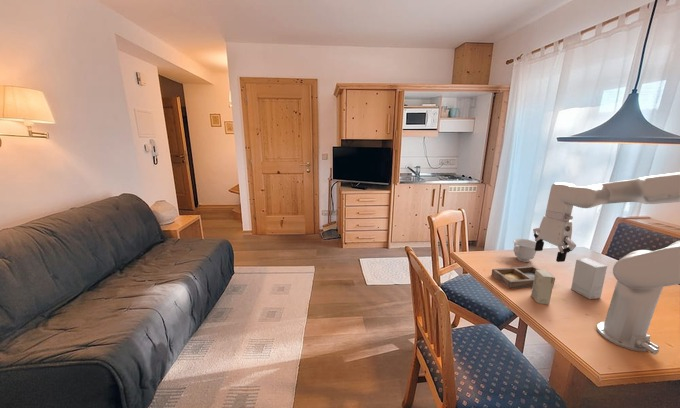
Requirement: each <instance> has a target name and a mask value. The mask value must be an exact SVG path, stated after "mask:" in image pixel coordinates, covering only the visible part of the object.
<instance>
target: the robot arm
mask: <svg viewBox="0 0 680 408" xmlns="http://www.w3.org/2000/svg"><path fill="white" fill-rule="evenodd" d="M548 195H549V196H548V200H547V205H546V209H545V214H544V216H543V217H542V219H541V222H540V224H539V227H538V228H537V227H536V228H533V229H532V231H533V236H534V238H535V239H534V242H536V245H535V251H536V252H542V251H543V248H544V244H545V242H547V243H549V244H552V245H554V246H556V247H557V248H558V250H559V251H558V252H557V254H556V262H557V263H564V262H566V261H565V260H566V259H567V254H568V253H570V252H572V251H574V250H575V248H576V247H577V244H576V243H575V242H574V241H573V240H572V233H573V222H572V220H573V219H574V216H572V214H573V213H572V212H573V208H574V207H578V208H581V209H591V208H595V207H597V206H600V205H608V204H619V203H620V204H621V203H640V204H645V205H661V204H671V203H680V171H679V172H672V173H670V172H669V173H665V174H663V173H662V174H657V175H649V176H642V177H638V178H633V179H626V180H618V181H613V182H612V181H611V182H604V183H597V184H596V183H595V184H590V185H587V186H585V185H584V186H577V185H576V184H574V183H570V182H554V183H552V185H551V187H550V191H549V194H548ZM612 275H613V276H614V278H615V279H616V280H617V281H616V283H615V286H614V290H613V292H612V296H611V300H610V304H609V307H608V310H607V313H606V317H605V320H604V321H601V322H599V323H597V325H596V331H597V332H598V333H599V335H601V337H603V339H606V340H607V341H609V342H611V343H612V344H615V345H616V346H619V347H622V348H623V349H627V350H629V351H636V352H647V351H648V352H649V353H650V354H652V355H654V356H655V355H657V354H658V353H659V351H660V350H659V349H660V346H659V345H657V344H656V343H654V342H652V341H651V340H650V339H651V337H652V336H651V335H650V334H648V331H649V327H650V325H651V321H652V319H653V316H654V314H655V310H656V308H657V305H658V303H659V299H660V297H661V294H662V293H663V292H662V291H663V289H664V288H665V287H670V286H677V285H680V240H677V241H675V242H673V243H671V244H669V245H668V246H666V247H663V248H660V249H656V250H650V249H649V250H648V249H638V250H634V251H631V252H629V253H627V254H626V255H624V256H622V257H621V258H620V259H619V260H617V261H616V262H615V263H614V265H613V267H612Z"/></svg>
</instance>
